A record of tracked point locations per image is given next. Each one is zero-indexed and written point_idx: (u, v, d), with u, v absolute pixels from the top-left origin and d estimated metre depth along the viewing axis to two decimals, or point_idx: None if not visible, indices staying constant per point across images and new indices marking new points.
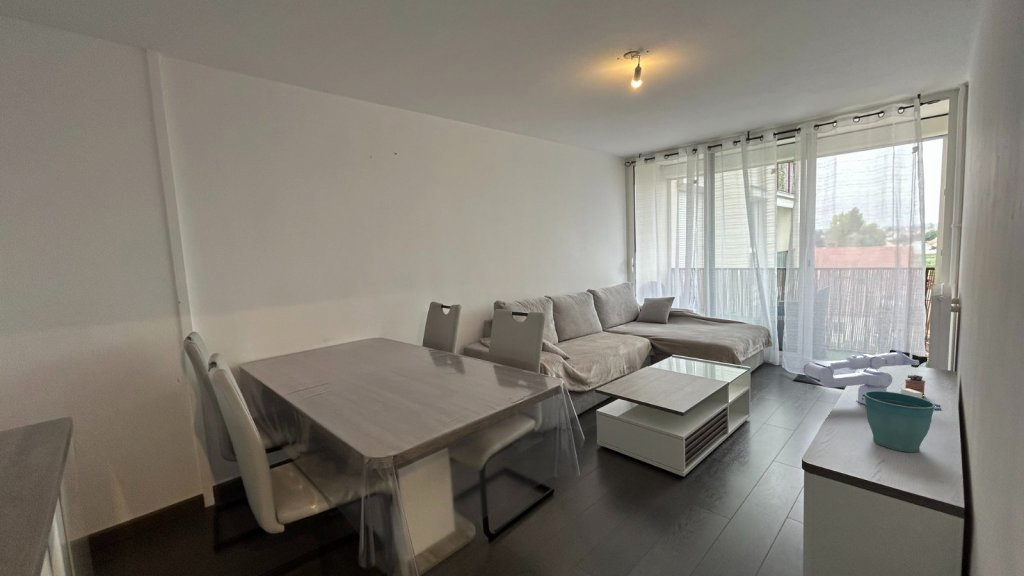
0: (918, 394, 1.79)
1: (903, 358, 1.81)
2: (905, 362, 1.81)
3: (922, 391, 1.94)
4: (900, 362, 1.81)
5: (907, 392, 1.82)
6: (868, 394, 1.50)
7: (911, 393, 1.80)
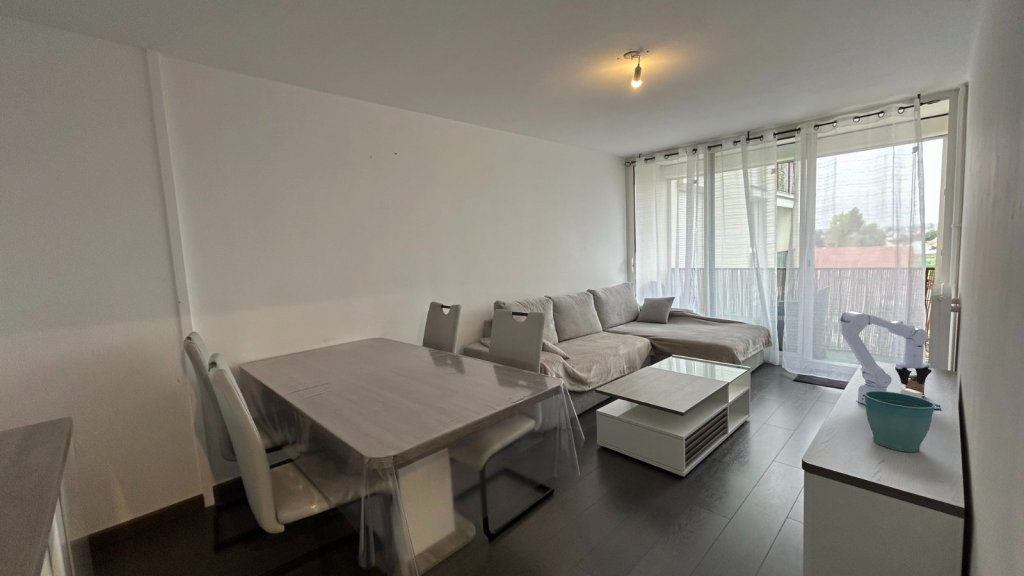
0: (918, 394, 1.79)
1: (909, 363, 1.80)
2: None
3: (922, 391, 1.94)
4: (906, 359, 1.81)
5: (907, 392, 1.82)
6: (868, 394, 1.50)
7: (911, 393, 1.80)
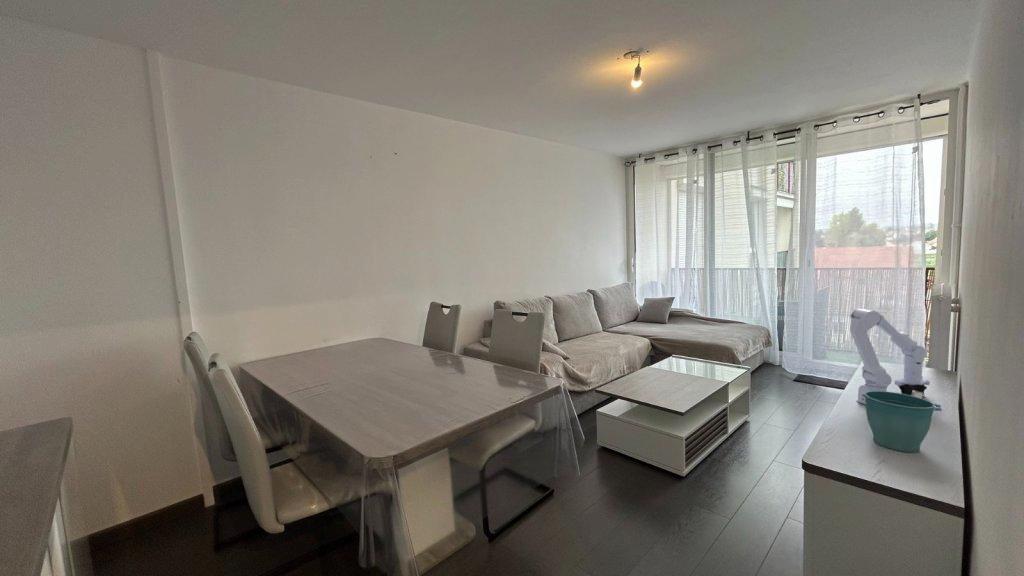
0: (918, 394, 1.79)
1: (908, 380, 1.80)
2: (903, 380, 1.82)
3: None
4: (905, 376, 1.82)
5: None
6: (868, 394, 1.50)
7: None
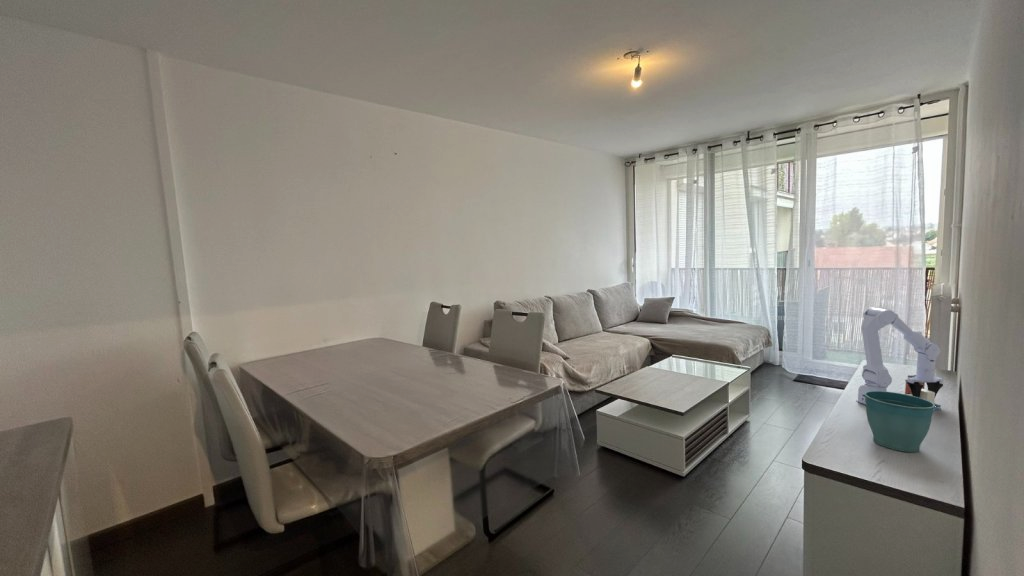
0: (931, 394, 1.79)
1: (921, 377, 1.80)
2: None
3: None
4: (917, 373, 1.82)
5: None
6: (868, 394, 1.50)
7: (923, 393, 1.80)
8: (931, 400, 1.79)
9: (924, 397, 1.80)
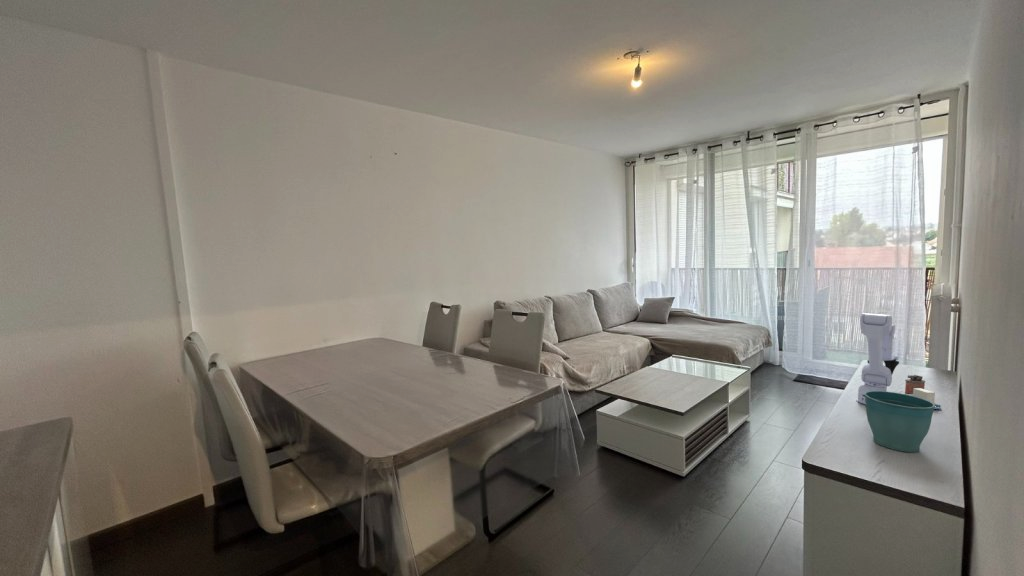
0: (931, 394, 1.79)
1: None
2: None
3: None
4: None
5: (919, 392, 1.82)
6: (868, 394, 1.50)
7: (923, 393, 1.80)
8: (931, 400, 1.79)
9: (924, 397, 1.80)
